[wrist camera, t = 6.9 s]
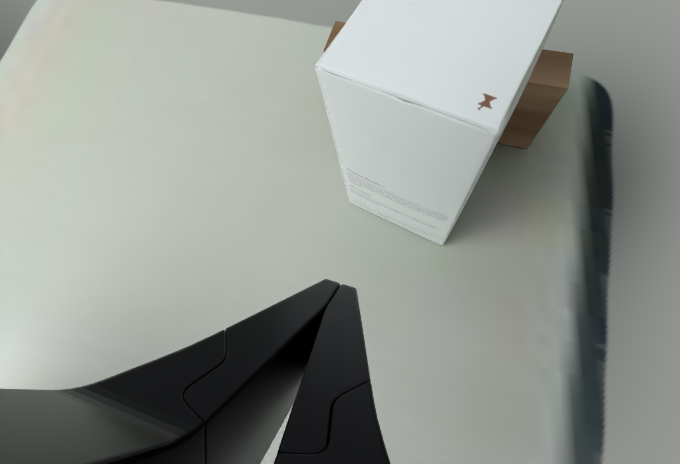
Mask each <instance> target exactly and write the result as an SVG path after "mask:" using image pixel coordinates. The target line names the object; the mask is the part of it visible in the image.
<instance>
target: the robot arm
mask: <svg viewBox="0 0 680 464" xmlns="http://www.w3.org/2000/svg"><path fill="white" fill-rule="evenodd" d="M370 382H371V380H370V374H369V367H368V361H367V354H366V348H365V341H364V335H363V328H362V322H361V315H360V309H359V302H358V296H357V290H356V289H355V288H354V287H350V286H347V285H344V284H342V285H341V286H340V284H339V283H337V282H334V281H331V280H328V279H325V280H323V281H321V282H319V283H317V284H315V285H313V286H311V287H309V288H307V289H305V290H303V291H301V292H299V293H297V294H295V295H293V296H291V297H289V298H287V299H285V300H283V301H281V302H278V303H276V304H274V305H272V306H270V307H268V308H266V309H264V310H262V311H260V312H258V313H256V314H254V315H252V316H250V317H248V318H246V319H244V320H242V321H240V322H238V323H236V324H234V325H232V326H230V327H228V328H226V330H222V331H220V332H218V333H216V334H214V335H212V336H210V337H208V338H205V339H203V340H201V341H199V342H197V343H195V344H193V345H190V346H188V347H186V348H183V349H181V350H179V351H176V352H174V353H171V354H169V355H166V356H164V357H161V358H159V359H156V360H154V361H151V362H148V363H146V364H143V365H141V366H138V367H136V368H133V369H130V370H128V371H125V372H123V373H120V374H117V375H115V376H112V377H110V378H107V379H105V380H102V381H99V382H96V383H93V384H90V385H86V386H82V387H78V388H72V389H64V390H25V389H0V464H260V463H261V461H262V460H263V458H264V456H265V454H266V452H267V451H268V449H269V447H270V445H271V443H272V441H273V440H274V438H275V436H276V434H277V432H278V431H279V429H280V427H281V425H282V423H283V422H284V420H285V418H286V416H287V414H288V412H289V411H290V409H291V407H292V405H293V407H292V410H291V413H290V416H289V419H288V422H287V425H286V428H285V431H284V435H283V438H282V441H281V444H280V447H279V450H278V453H277V457H276V459H275V462H274V464H390V461H389V457H388V454H387V451H386V448H385V444H384V441H383V437H382V433H381V430H380V426H379V422H378V419H377V414H376V409H375V403H374V398H373V392H372V386H371V383H370ZM293 403H294V404H293Z"/></svg>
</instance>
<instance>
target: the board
mask: <svg viewBox="0 0 680 464" xmlns="http://www.w3.org/2000/svg"><path fill="white" fill-rule="evenodd" d="M345 24H346V23H344V22H337V21H336V22H335V24H334V26H333V29H332V31H331V34H330V36H329V39H328V41H327V44H326V46H325V48H324V52H325V51H326V50H327V48H328V47H329V45H330V44H331V43H332V41H333V40H334V39H335V37H336V36H337V34H338V33H339V32H340V30H341V29H342V28H343V26H344V25H345ZM572 59H573V54H572V53H564V52H557V51H549V50H542V51H541V54H540V56H539V58H538V60H537V62H536V65H535V67H534V69H533V71H532V74H531V76H530V78H529V80H528V82H527V84H526V86H525V88H524V90H523V93H522V95H521V97H520V99H519V101H518V103H517V105H516V107H515V109H514V111H513V113H512V115H511V117H510V119H509V121H508V123H507V125H506V127H505V129H504V131H503V133H502V135H501V137H500V138H499V140H498V142H497V143H499V144H504V145H509V146H515V147H520V148H525V149H527V148H528V146H529V145H530V143H531V142H532V140H533V139H534V137H535V136H536V135H537V133H538V132H539V130H540V129H541V127H542V126H543V124H544V123H545V121H546V120H547V118H548V117H549V116H550V114H551V113H552V111H553V110H554V108H555V107H556V105H557V104H558V102H559V101H560V99H561V98H562V96H563V95H564V94H565V92H566V91H567V89H568V85H569V79H570V72H571V66H572Z"/></svg>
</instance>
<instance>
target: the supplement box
mask: <svg viewBox="0 0 680 464" xmlns="http://www.w3.org/2000/svg"><path fill="white" fill-rule="evenodd" d="M563 1H564V0H362V1H361V2H360V4H359V5H358V7H357V8H356V10H355V11H354V13H353V14H352V16H351V17H350V18H349V20H348V21H347V22H346V24H345V25H344V26H343V28H342V29H341V30H340V32H339V33H338V34H337V36H336V37H335V39H334V40H333V41H332V43H331V44H330V45H329V47H328V48H327V50H326V51H325V52H324V54H323V55H322V57H321V58H320V59H319V61H318V62H317V63H316V65H315V69H316V73H317V76H318V80H319V83H320V87H321V91H322V95H323V99H324V103H325V107H326V111H327V115H328V119H329V123H330V127H331V130H332V135H333V139H334V143H335V147H336V151H337V155H338V159H339V163H340V167H341V171H342V175H343V179H344V183H345V187H346V191H347V195H348V198H349V202H350V203H352V204H354V205H356V206H358V207H360V208H362V209H364V210H367V211H369V212H371V213H373V214H375V215H377V216H379V217H381V218H384V219H386V220H388V221H390V222H392V223H394V224H396V225H398V226H401V227H403V228H405V229H407V230H409V231H411V232H413V233H416V234H418V235H420V236H422V237H424V238H426V239H429V240H431V241H433V242H435V243H437V244H439V245H441V246H442V245H444V243H445V242H446V240H447V238H448V236H449V234H450V233H451V231H452V229H453V227H454V225H455V223H456V222H457V220H458V218H459V216H460V214H461V212H462V210H463V208H464V207H465V205H466V203H467V201H468V199H469V197H470V195H471V193H472V191H473V189H474V187H475V185H476V184H477V182H478V180H479V178H480V176H481V174H482V172H483V170H484V168H485V166H486V164H487V162H488V160H489V158H490V156H491V154H492V152H493V150H494V148H495V146H496V144H497V142H498V140H499V138H500V137H501V135H502V133H503V131H504V129H505V127H506V125H507V123H508V121H509V119H510V117H511V115H512V113H513V111H514V109H515V107H516V105H517V103H518V101H519V99H520V97H521V95H522V93H523V90H524V88H525V86H526V84H527V82H528V80H529V78H530V76H531V74H532V71H533V69H534V67H535V65H536V62H537V60H538V58H539V56H540V54H541V51H542V49H543V47H544V44H545V42H546V40H547V37H548V35H549V33H550V31H551V28H552V26H553V24H554V21H555V19H556V17H557V15H558V12H559V10H560V8H561V5H562V3H563Z"/></svg>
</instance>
